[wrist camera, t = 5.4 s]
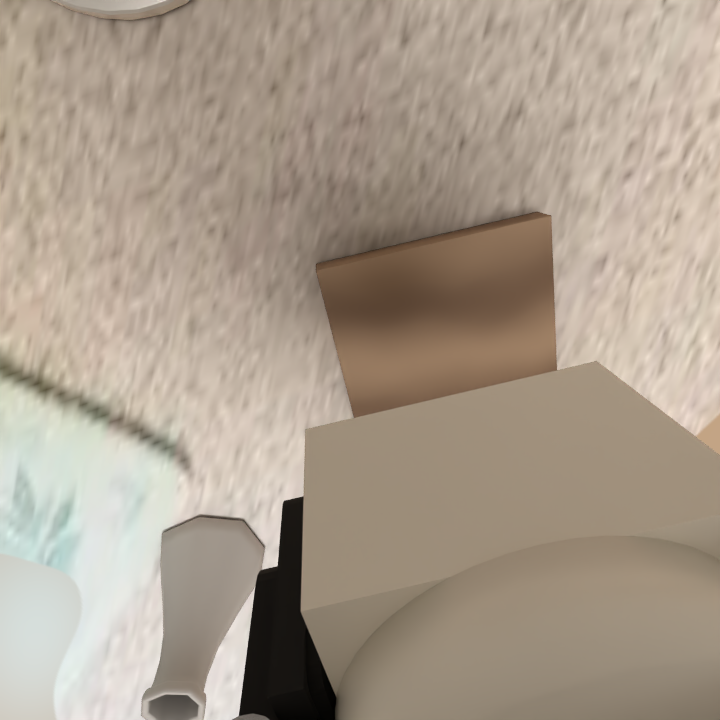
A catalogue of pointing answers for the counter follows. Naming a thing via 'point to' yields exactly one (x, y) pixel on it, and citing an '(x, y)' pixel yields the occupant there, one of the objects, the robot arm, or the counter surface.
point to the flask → (198, 609)
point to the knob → (515, 556)
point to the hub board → (443, 313)
